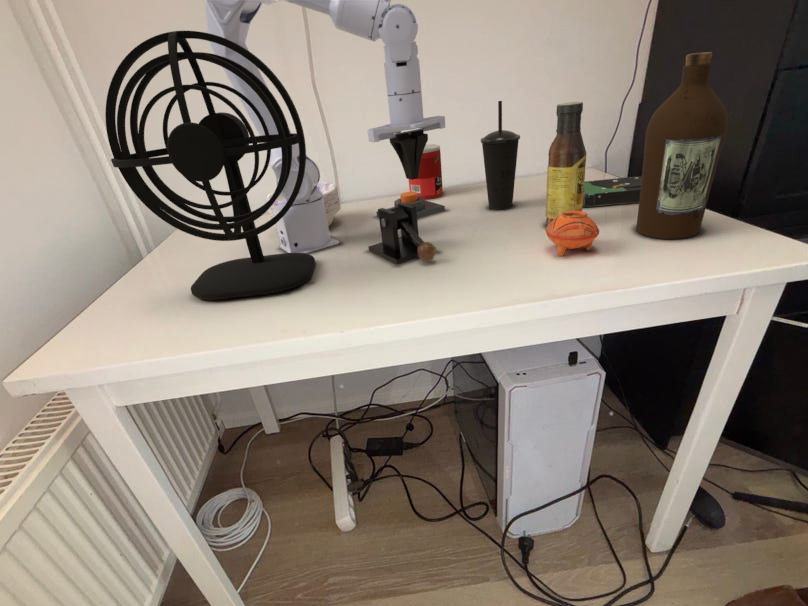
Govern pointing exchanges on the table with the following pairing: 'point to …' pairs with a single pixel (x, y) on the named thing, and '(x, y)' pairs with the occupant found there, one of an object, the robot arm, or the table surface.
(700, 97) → the brown liquor bottle
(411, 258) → the bracket
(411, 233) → the lever
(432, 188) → the canned food
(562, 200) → the sauce bottle
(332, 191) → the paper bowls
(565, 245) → the pot
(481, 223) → the table surface
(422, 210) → the control block
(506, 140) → the drinking cup
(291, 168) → the robot arm
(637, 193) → the disk drive
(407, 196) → the button
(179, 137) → the desk fan
